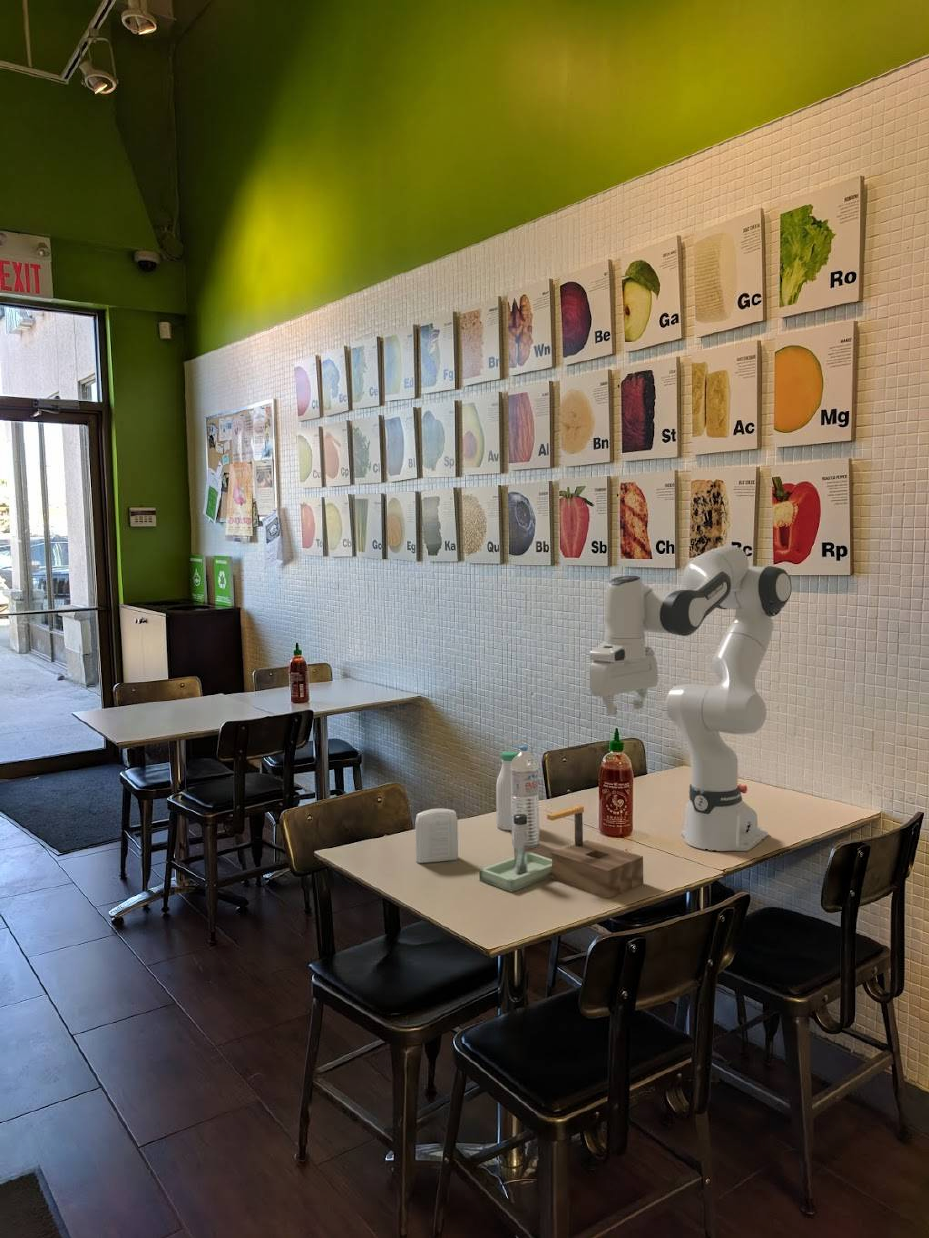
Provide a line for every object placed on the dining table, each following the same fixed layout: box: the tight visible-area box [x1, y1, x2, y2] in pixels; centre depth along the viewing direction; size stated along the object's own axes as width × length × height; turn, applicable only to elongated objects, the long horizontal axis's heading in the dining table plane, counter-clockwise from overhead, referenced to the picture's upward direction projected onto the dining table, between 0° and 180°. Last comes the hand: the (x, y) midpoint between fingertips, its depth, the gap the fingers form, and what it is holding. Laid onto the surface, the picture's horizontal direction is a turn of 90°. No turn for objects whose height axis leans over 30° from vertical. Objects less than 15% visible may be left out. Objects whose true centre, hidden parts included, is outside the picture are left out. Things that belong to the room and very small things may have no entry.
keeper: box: [546, 805, 585, 821], centre depth 205 cm, size 10×2×1 cm, turn 128°
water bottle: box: [510, 745, 540, 850], centre depth 226 cm, size 7×7×25 cm
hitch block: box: [551, 813, 644, 899], centre depth 202 cm, size 12×16×14 cm
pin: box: [513, 814, 529, 875], centre depth 205 cm, size 3×3×13 cm
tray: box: [478, 851, 552, 893], centre depth 206 cm, size 16×10×2 cm, turn 132°
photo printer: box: [414, 808, 459, 864], centre depth 218 cm, size 10×4×12 cm, turn 104°
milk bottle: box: [495, 750, 519, 832], centre depth 241 cm, size 8×8×20 cm
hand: (625, 711), depth 203 cm, fingers open, 8 cm apart
